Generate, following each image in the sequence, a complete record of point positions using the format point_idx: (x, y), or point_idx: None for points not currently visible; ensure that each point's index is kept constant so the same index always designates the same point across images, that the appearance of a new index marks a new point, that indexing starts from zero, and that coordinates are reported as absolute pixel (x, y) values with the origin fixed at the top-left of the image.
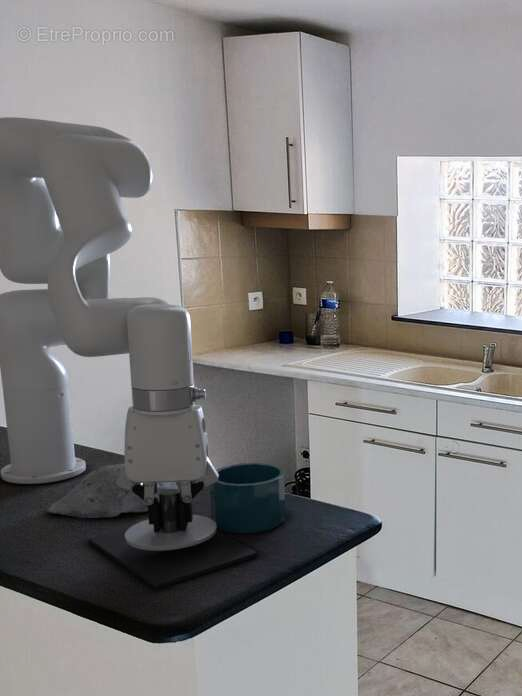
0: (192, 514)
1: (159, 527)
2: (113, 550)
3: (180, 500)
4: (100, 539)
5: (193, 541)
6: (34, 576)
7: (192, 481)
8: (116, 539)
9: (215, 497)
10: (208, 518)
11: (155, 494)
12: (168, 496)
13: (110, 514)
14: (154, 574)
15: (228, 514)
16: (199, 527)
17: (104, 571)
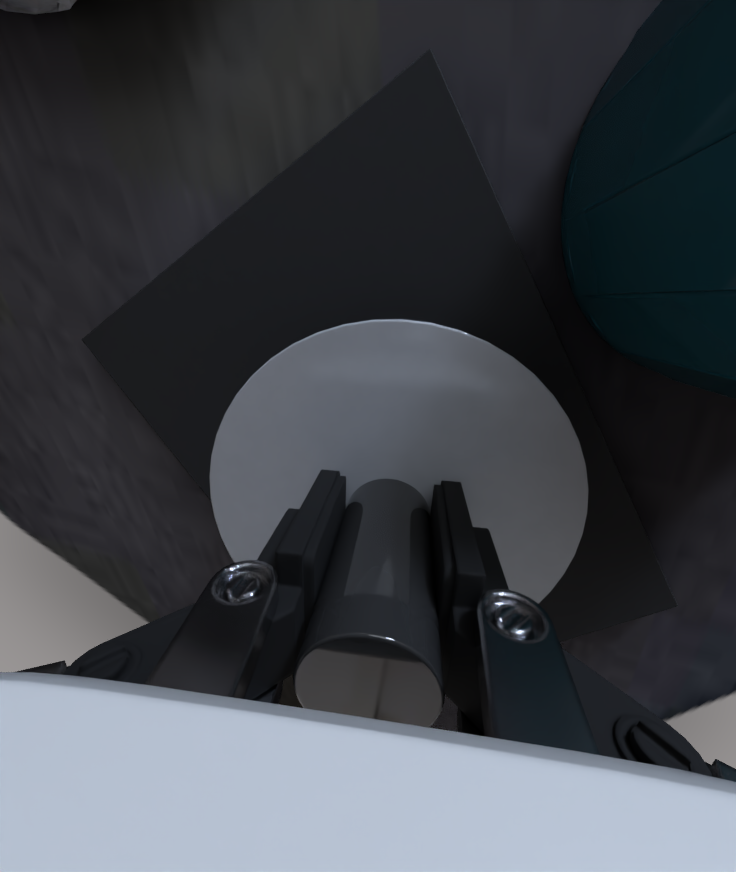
0: (490, 534)
1: None
2: (204, 471)
3: (440, 625)
4: (126, 357)
5: None
6: (64, 547)
7: (584, 737)
8: (182, 372)
9: (685, 299)
10: (561, 421)
11: (270, 644)
12: None
13: (36, 8)
14: None
15: (681, 372)
16: (506, 523)
17: (223, 566)
